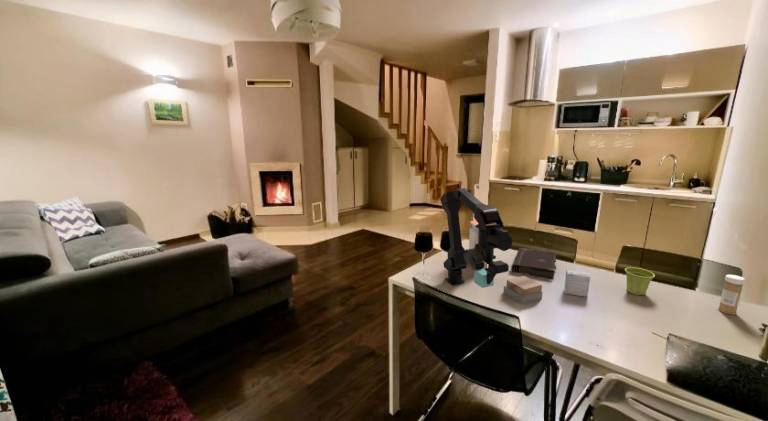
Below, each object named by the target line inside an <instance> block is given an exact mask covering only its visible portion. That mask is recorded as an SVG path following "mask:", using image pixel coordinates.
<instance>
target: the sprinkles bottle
mask: <svg viewBox="0 0 768 421" xmlns="http://www.w3.org/2000/svg"><path fill="white" fill-rule="evenodd" d="M745 282H746V278H744V277H742V276H740V275H736V274H726V275H725V278H724V285H723V288H722V291H721V292H722V293H721V296H720V300H719V301H720V302H719V306H718V308H717V309H718V310H719V311H720V312H722V313H724V314H728V315H734V316H735V315H736V314H738V313H737V309H738V307H739V303H740V300H741V294H742V291H743V286H744V284H745Z"/></svg>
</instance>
